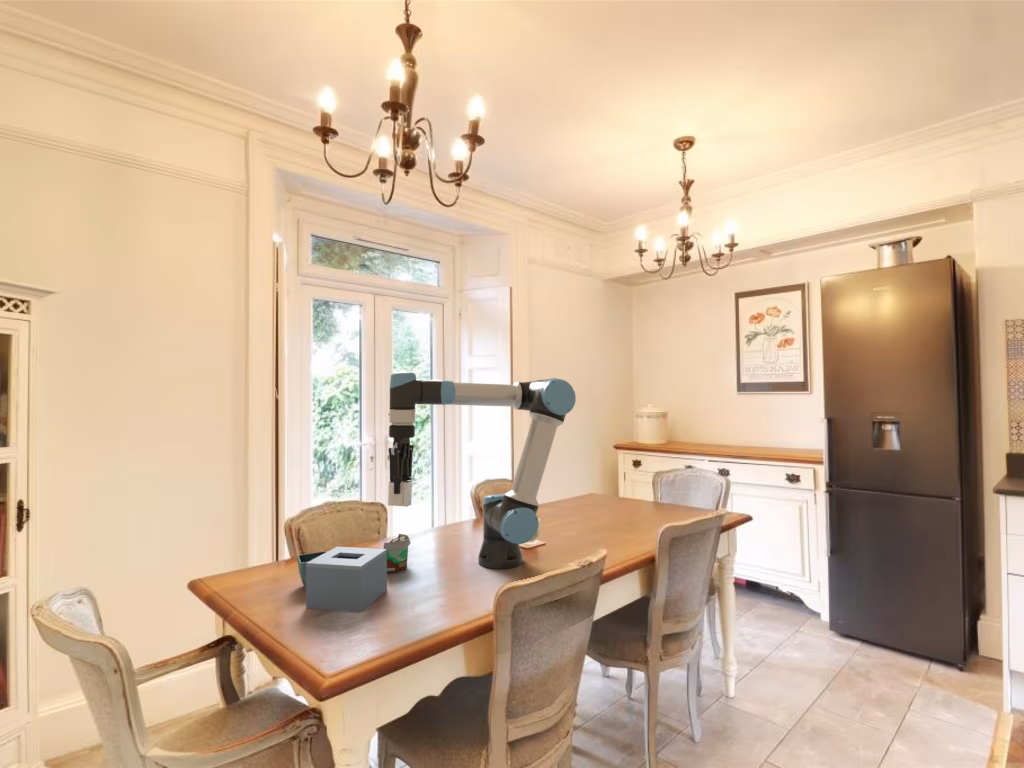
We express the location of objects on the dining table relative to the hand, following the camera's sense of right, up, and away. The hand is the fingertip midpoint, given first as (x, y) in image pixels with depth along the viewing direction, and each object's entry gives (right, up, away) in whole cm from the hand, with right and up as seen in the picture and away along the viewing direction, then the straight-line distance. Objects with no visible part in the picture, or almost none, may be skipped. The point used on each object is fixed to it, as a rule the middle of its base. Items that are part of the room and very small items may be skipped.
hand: (400, 503), depth 156 cm
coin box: (-13, -25, -8) cm, 29 cm away
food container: (-4, -26, +18) cm, 32 cm away
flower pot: (-26, -26, +2) cm, 37 cm away
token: (0, 0, 0) cm, 0 cm away
